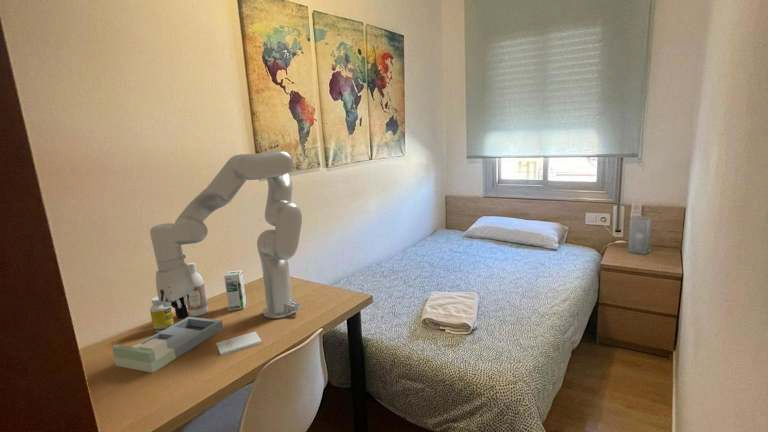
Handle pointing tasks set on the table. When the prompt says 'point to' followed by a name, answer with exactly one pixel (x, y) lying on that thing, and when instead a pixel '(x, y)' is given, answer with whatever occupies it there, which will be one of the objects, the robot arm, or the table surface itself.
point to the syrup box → (235, 290)
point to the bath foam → (197, 293)
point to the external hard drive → (238, 343)
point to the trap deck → (177, 340)
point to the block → (155, 346)
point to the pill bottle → (160, 315)
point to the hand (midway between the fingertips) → (182, 317)
